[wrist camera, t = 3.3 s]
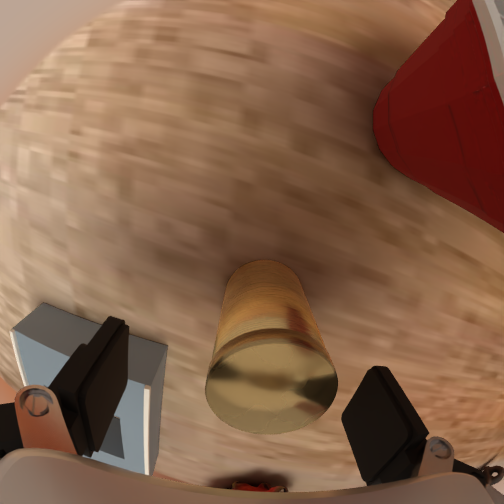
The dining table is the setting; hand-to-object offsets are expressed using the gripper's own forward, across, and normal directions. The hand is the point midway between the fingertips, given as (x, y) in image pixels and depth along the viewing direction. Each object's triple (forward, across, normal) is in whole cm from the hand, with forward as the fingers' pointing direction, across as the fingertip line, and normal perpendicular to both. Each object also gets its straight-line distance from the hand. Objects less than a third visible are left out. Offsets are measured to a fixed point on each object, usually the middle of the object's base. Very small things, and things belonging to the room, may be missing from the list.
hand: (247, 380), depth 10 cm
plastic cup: (+7, -7, -12) cm, 16 cm away
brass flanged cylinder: (+7, -1, 0) cm, 7 cm away
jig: (+7, +9, +12) cm, 16 cm away
